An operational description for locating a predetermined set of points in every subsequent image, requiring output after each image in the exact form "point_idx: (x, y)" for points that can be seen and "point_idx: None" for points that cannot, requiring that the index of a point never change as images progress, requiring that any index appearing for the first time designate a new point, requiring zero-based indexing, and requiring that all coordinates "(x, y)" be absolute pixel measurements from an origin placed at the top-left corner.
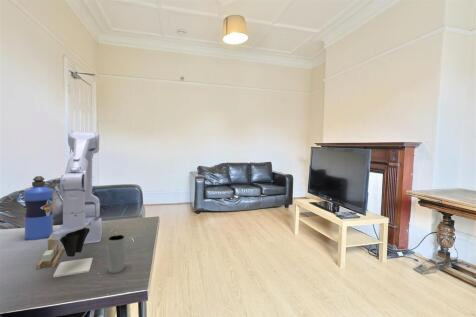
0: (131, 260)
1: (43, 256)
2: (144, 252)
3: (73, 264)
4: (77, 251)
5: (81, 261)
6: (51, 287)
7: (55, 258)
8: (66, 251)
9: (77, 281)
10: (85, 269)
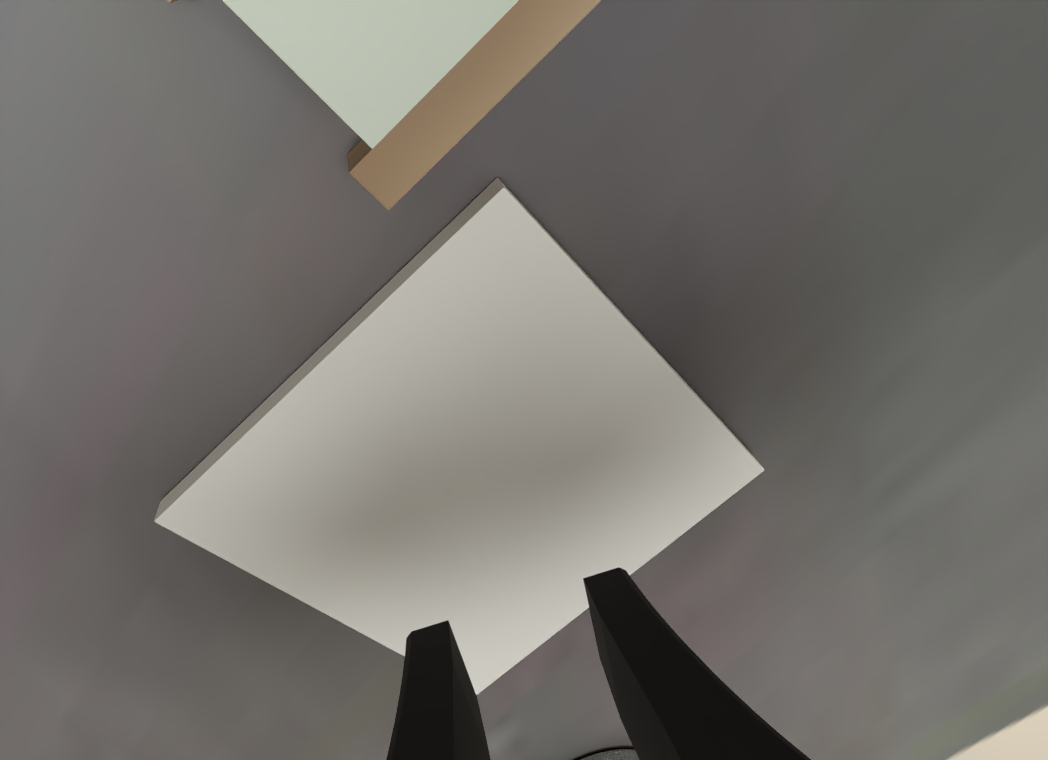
0: None
1: (245, 13)
2: (970, 712)
3: (515, 446)
4: (600, 643)
5: (625, 455)
6: (31, 677)
7: (538, 6)
8: (402, 730)
9: (276, 744)
10: (470, 660)
